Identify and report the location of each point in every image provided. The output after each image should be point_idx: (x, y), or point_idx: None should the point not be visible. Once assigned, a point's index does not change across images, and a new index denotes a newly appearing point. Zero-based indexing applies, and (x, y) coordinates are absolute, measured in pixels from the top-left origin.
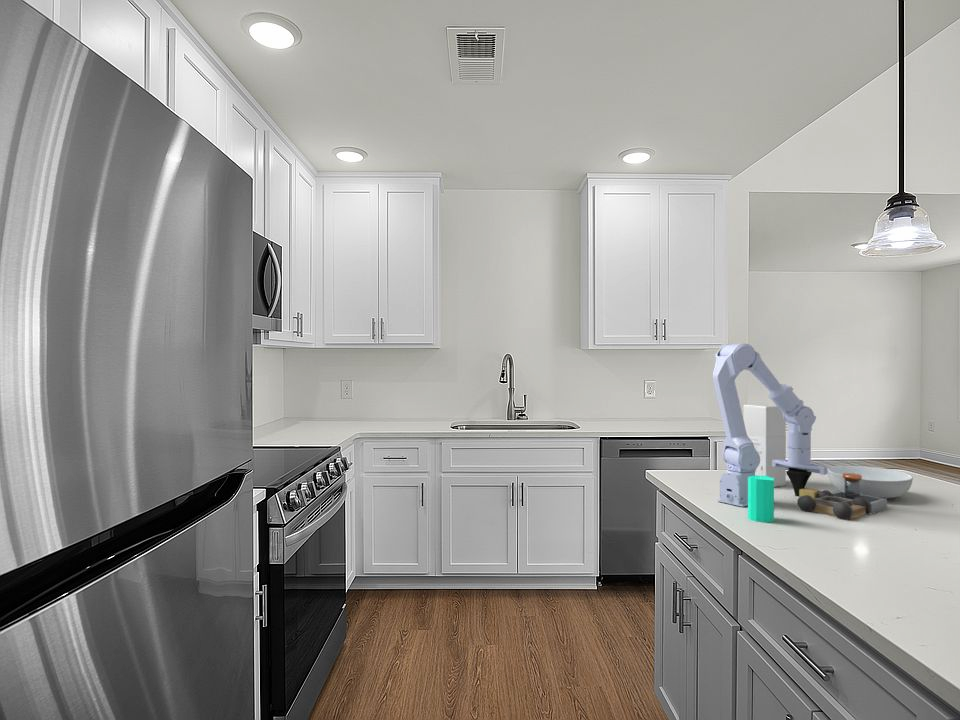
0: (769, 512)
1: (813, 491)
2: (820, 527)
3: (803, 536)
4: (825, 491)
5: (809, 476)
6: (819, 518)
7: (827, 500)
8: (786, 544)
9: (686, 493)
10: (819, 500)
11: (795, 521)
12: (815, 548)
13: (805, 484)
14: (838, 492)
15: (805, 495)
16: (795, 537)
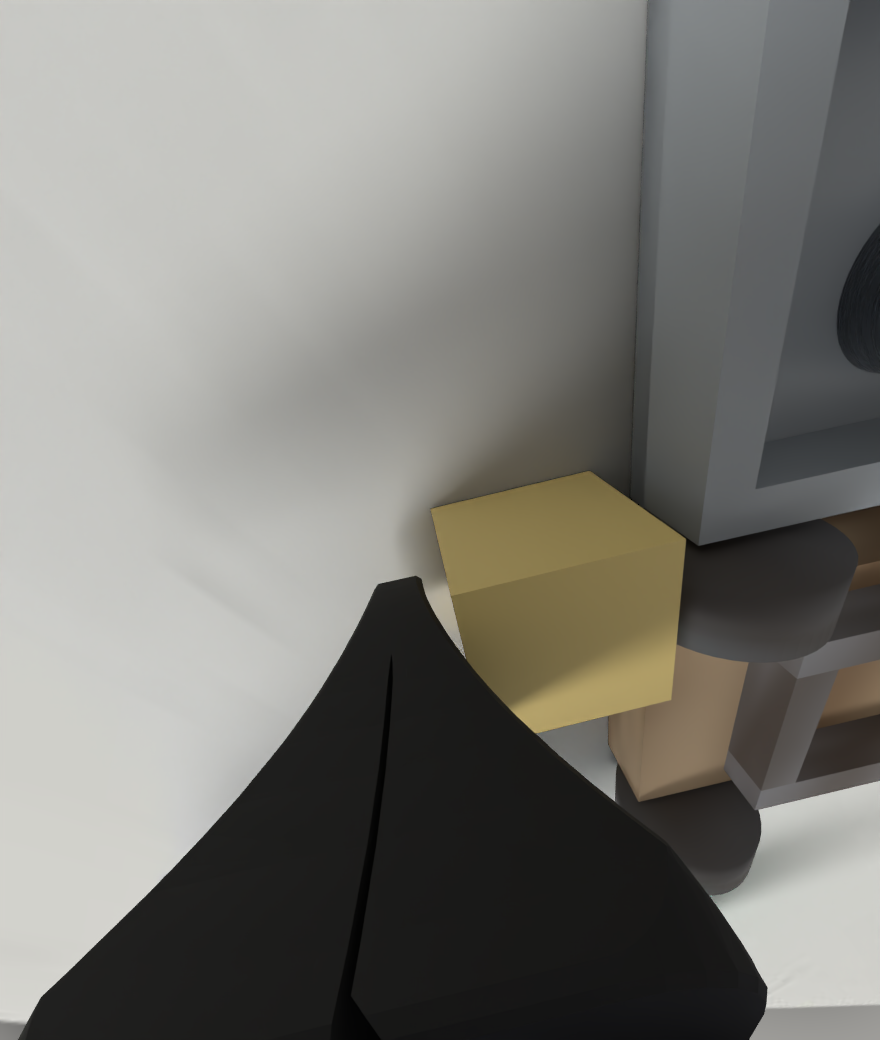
0: None
1: (646, 679)
2: (810, 850)
3: (792, 925)
4: (813, 644)
5: (599, 809)
6: None
7: (857, 768)
8: (777, 971)
9: (6, 1013)
10: (790, 792)
11: None
12: (850, 942)
13: (467, 666)
14: (823, 84)
15: (714, 879)
16: (775, 941)
